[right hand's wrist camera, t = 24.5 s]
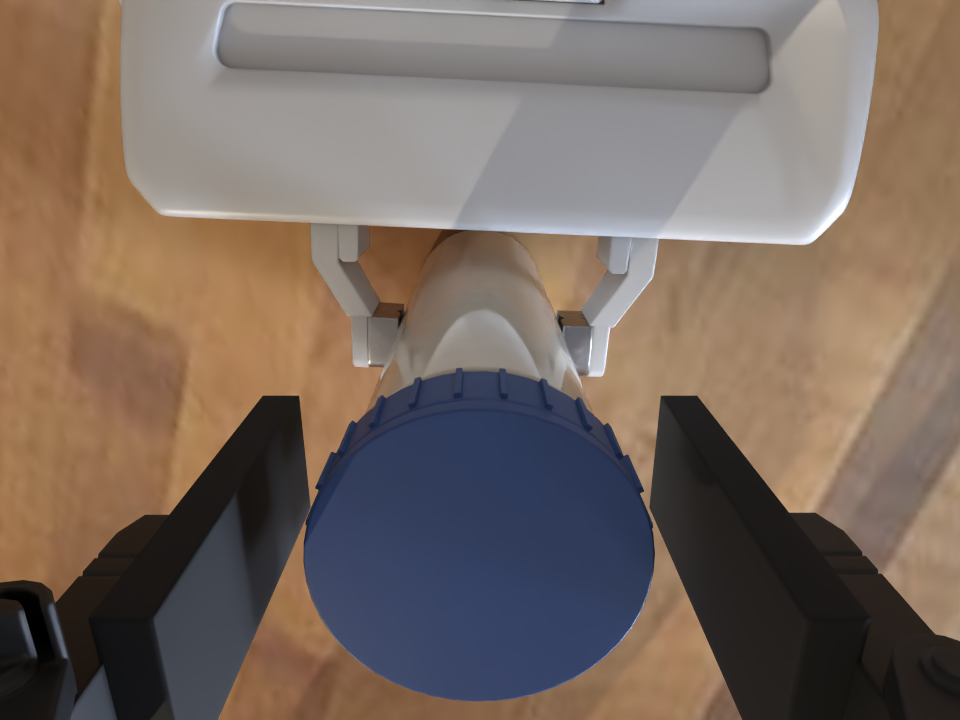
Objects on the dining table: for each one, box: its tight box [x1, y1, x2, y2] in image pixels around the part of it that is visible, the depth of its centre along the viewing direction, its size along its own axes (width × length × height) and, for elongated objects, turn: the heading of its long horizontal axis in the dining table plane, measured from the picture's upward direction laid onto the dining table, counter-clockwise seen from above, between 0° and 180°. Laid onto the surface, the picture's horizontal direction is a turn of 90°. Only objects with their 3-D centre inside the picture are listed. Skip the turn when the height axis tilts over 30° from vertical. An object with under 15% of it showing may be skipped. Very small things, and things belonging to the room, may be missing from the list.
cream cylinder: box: [365, 230, 594, 415], centre depth 20 cm, size 5×5×17 cm
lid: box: [304, 368, 655, 701], centre depth 11 cm, size 6×6×2 cm
